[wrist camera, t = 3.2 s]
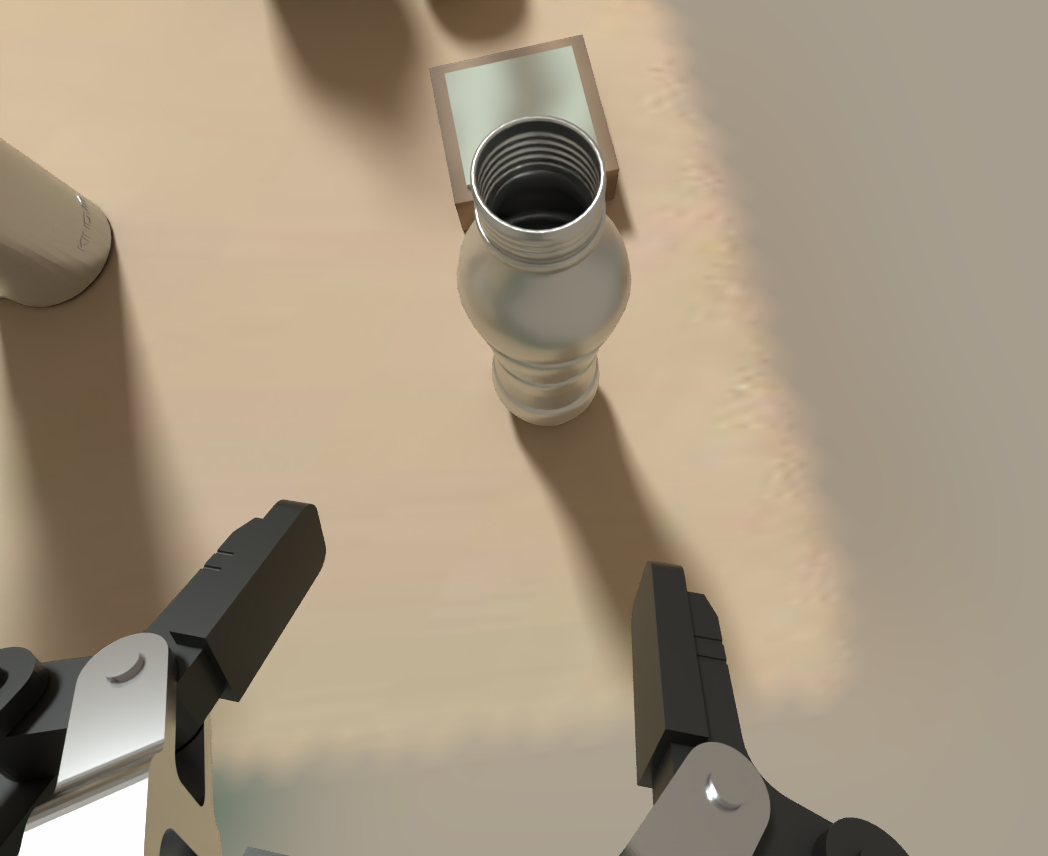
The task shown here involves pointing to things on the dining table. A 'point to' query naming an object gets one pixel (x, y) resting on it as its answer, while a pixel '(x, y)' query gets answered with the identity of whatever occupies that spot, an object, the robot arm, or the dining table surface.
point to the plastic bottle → (542, 265)
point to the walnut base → (516, 104)
